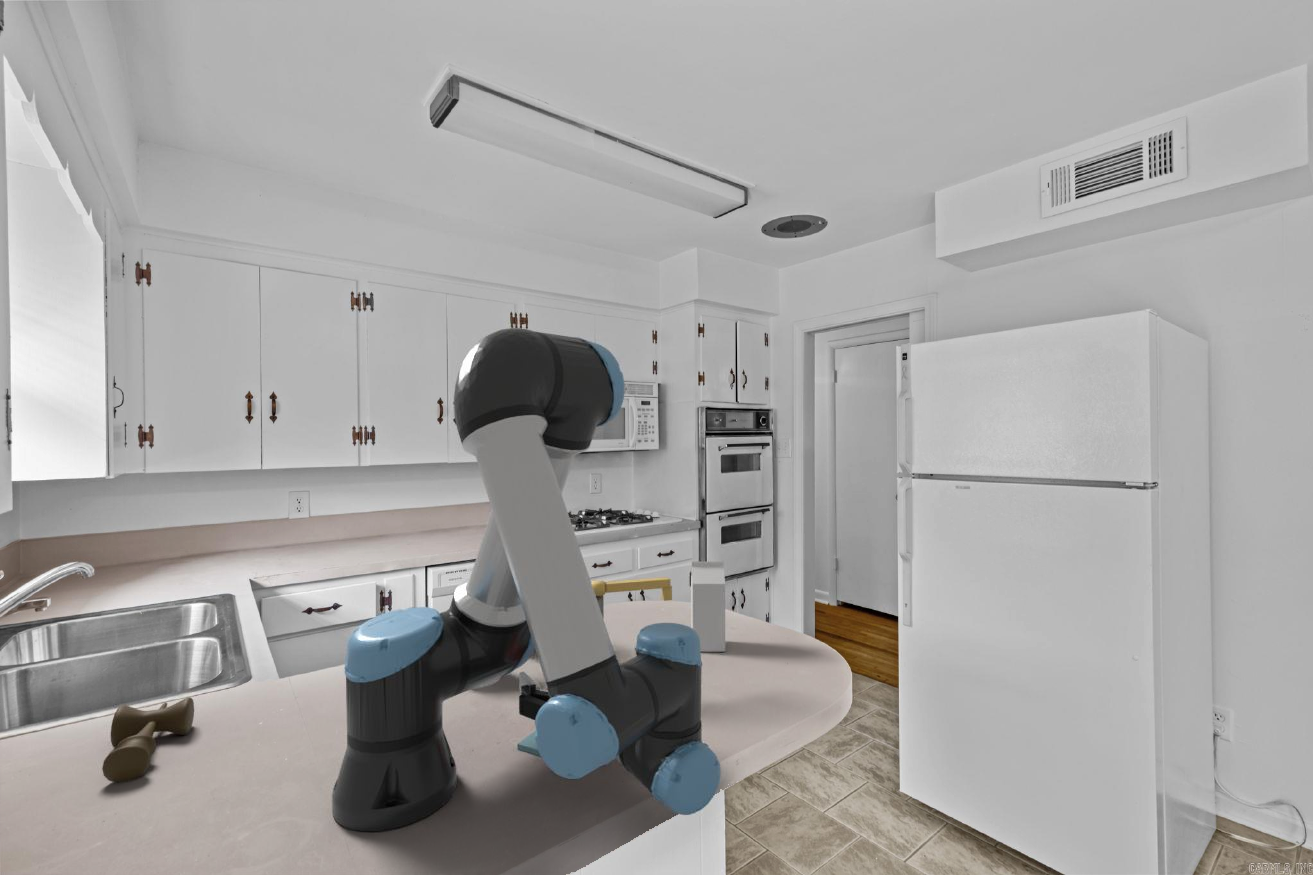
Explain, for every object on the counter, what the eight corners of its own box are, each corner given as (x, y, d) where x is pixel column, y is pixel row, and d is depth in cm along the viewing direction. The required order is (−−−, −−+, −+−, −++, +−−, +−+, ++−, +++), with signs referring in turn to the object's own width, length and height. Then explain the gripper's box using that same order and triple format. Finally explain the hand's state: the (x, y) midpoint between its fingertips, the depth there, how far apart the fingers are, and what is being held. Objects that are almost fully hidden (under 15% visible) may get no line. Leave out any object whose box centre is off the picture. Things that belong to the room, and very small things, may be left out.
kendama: (78, 796, 81) (128, 726, 99) (168, 779, 85) (200, 715, 103) (78, 752, 81) (129, 690, 98) (168, 738, 85) (201, 681, 103)
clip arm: (668, 596, 117) (668, 575, 117) (673, 601, 114) (673, 578, 113) (586, 603, 112) (586, 581, 112) (590, 608, 109) (589, 585, 109)
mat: (578, 767, 86) (578, 761, 86) (517, 749, 91) (517, 743, 91) (616, 732, 96) (616, 727, 96) (560, 717, 101) (560, 713, 101)
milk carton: (725, 652, 130) (725, 565, 130) (692, 652, 131) (692, 565, 130) (722, 640, 138) (722, 558, 137) (691, 640, 138) (690, 558, 137)
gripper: (541, 786, 72) (484, 714, 90) (699, 730, 85) (622, 677, 103) (541, 724, 72) (484, 664, 90) (699, 678, 85) (622, 634, 103)
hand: (557, 671), depth 97 cm, fingers open, 11 cm apart
